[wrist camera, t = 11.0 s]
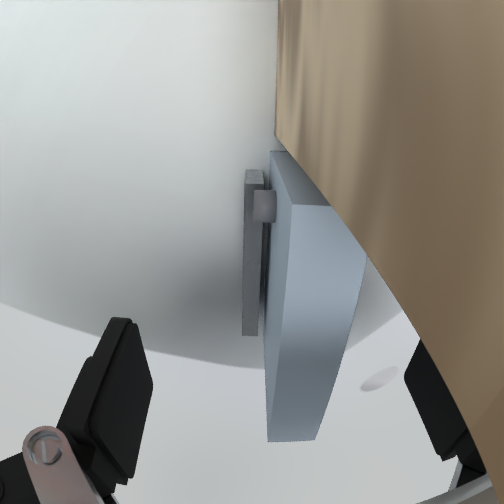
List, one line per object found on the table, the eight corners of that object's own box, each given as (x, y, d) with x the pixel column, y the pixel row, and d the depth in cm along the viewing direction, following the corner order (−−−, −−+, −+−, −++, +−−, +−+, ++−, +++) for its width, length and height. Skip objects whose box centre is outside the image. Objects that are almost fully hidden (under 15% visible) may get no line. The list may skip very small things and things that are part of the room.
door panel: (294, 315, 19) (314, 440, 11) (249, 315, 19) (248, 442, 11) (310, 152, 15) (375, 208, 7) (254, 150, 15) (256, 203, 7)
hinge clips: (318, 303, 19) (327, 335, 16) (243, 302, 19) (242, 335, 16) (335, 174, 15) (353, 188, 13) (245, 169, 15) (244, 183, 13)
